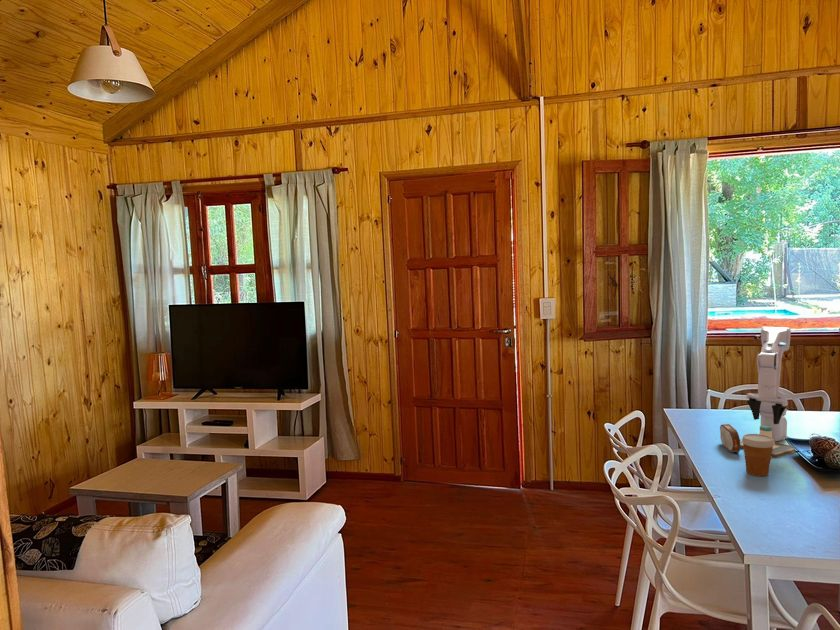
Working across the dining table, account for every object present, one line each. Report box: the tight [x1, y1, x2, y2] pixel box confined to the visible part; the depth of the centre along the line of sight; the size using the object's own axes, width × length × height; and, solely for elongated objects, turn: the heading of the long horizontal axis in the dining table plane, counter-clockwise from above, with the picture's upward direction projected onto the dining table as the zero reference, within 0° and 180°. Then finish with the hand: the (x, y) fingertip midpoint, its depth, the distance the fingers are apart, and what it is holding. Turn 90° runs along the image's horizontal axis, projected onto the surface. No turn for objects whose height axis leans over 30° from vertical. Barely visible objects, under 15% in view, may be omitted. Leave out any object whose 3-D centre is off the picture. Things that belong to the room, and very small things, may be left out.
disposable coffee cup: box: [741, 433, 776, 477], centre depth 199 cm, size 10×10×12 cm
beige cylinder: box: [759, 425, 772, 437], centre depth 224 cm, size 4×4×7 cm
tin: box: [719, 423, 741, 453], centre depth 225 cm, size 15×3×8 cm, turn 170°
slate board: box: [740, 440, 796, 459], centre depth 224 cm, size 14×16×1 cm
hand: (766, 421), depth 223 cm, fingers open, 7 cm apart
